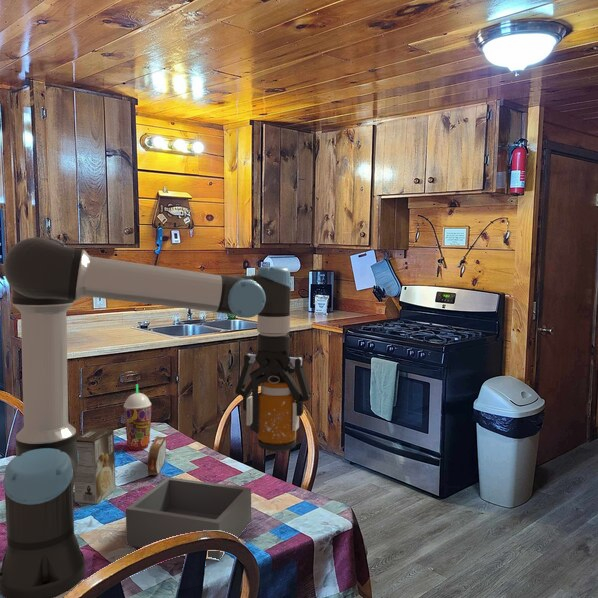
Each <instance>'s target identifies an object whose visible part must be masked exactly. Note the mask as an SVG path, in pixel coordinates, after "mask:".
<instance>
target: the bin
mask: <svg viewBox="0 0 598 598" xmlns="http://www.w3.org/2000/svg"><path fill="white" fill-rule="evenodd" d="M250 522H251V523H252V488H251V487H245V486H237V485H230V484H229V485H228V484H221V483H214V482H206V481H199V480H191V479H185V478H184V479H183V478H177V477H166V478H165V479H163V480H162V481H160V482H159V483H157V485H155V486H154V487H153V488H151V489H150V490H149V491H147V492H146V493H144V494H143V495H142V496H141V497H139V498H138V499H137V500H136V501H134V502H133V503H131V504H130V505H129V506H128V507H126V508H125V523H126V524H125V525H126V527H125V528H126V531H125V532H126V546H129V547H130V546H131V547H134V548H135V547H136V548H141V547H143V546H145V545H148V544H151V543H153V542H156V541H159V540H162V539H166V538H169V537H172V536H176V535H180V534H185V533H190V532H196V531H203V530H222V531H225V532H228V533H231V534H233V535H235V536H237V537H239V538H240V536H241V535H242V534H243V533H242V531H243V530H244V529H245V528H246V527H247V525H248V524H249V523H250ZM251 523H250V524H251ZM250 524H249V525H250ZM249 525H248V526H249ZM247 528H248V527H247ZM247 528H246V529H247ZM246 529H245V530H246ZM245 530H244V531H245ZM241 533H242V534H241ZM240 534H241V535H240ZM239 535H240V536H239ZM222 555H223V552H220V551H208V557H212V558H216V559H219V560H220V558H221V557H222ZM220 561H221V560H220Z"/></svg>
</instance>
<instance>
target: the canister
mask: <svg viewBox="0 0 598 598" xmlns="http://www.w3.org/2000/svg"><path fill="white" fill-rule="evenodd" d="M257 370H258V368H256V369H254V370H253V371H252V372H251V371H250V373H249V378H250V381H251V380H252V382H253V388H252V394H251V396H252V397H253V398H252V424H251V425H250V426H249V429H250V431H252V432H254V433H255V434H257V438H258V439H257V445H258V447H259V448H261V449H262V450H266V451H267V452H268V451H269V452H273V453H278V452H279V453H280V452H281V453H282V452H286V451H288V450H291V449H293V448H295V447H296V446H297V430H296V431H292V428H293V402H294V401H296V400H295V398H294V396H293V395H292V393H291V391H290V389H289V388H288V386H287V384H286V382H285V381H284V379H283V378H282V377H281V375H280V374H273V373H271V372H270V366H268V365H267V366H266V367H265V368H264V367H263V368H261V369H260V370H258V371H257ZM256 371H257V372H256ZM284 371H285V372H287V371H289V372H290V373H291V374H293V373H295V367H293V366H290V364H289V365H288V366H287V367H286V369H285V370H284ZM263 372H264V374H263V375H262V376H261V377H260V378H259V379H258V380H257V379H256V377H257V376H259V375H260V374H262V373H263ZM259 386H260V392H259Z"/></svg>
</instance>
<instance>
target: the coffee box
mask: <svg viewBox="0 0 598 598" xmlns="http://www.w3.org/2000/svg"><path fill="white" fill-rule="evenodd" d="M114 431H115V430H114V429H105V428H90V429H88V430H87V431H86V432H85V431H84V433H81V434H80V435H79V436H76V448H77V452H78V456H79V462H78V467H77V471H76V476H75V482H74V489H73V492H74V502H75V503H81V504H92V505H98V504H99V503H101V502H102V501H103V500H104V499H106V498H107V497H108V496H109V495H110V494H111V493H113V492H114V491H115V490H116V488H117V487H116V463H115V462H116V461H115V457H116V456H115V438H114V437H115V436H114V435H115V434H114Z"/></svg>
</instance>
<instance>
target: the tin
mask: <svg viewBox="0 0 598 598" xmlns="http://www.w3.org/2000/svg"><path fill="white" fill-rule="evenodd" d="M167 443H168V442H167V438H166V436H156V437H155V439H154V440H153V442H152V443H151V445H150V448H149V451H148V456H147V465H146V467H147V472H146V473H147V475H148V476H158V475H159V474H160V472H161V470H162V469H163V466H164V464H165V461H166V455H167Z"/></svg>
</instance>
